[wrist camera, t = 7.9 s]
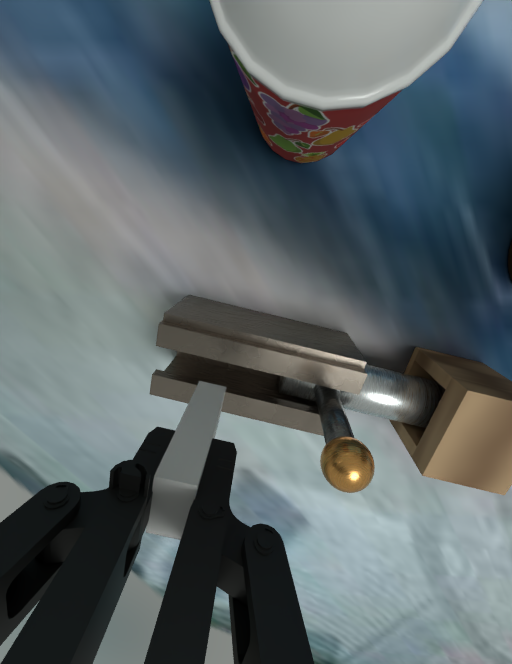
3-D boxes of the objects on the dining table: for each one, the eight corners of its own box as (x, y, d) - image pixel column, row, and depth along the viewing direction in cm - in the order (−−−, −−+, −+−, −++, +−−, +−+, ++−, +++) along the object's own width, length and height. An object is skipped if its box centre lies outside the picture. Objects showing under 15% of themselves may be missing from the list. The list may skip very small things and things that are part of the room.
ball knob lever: (278, 378, 26) (279, 499, 15) (290, 339, 25) (301, 436, 13) (454, 421, 27) (597, 574, 15) (474, 384, 25) (648, 519, 13)
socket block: (385, 414, 28) (422, 475, 21) (415, 346, 26) (467, 390, 19) (447, 428, 28) (504, 495, 21) (482, 363, 26) (559, 412, 19)
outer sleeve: (178, 360, 28) (148, 400, 21) (189, 294, 26) (159, 316, 19) (324, 396, 28) (338, 445, 22) (347, 333, 26) (370, 367, 20)
